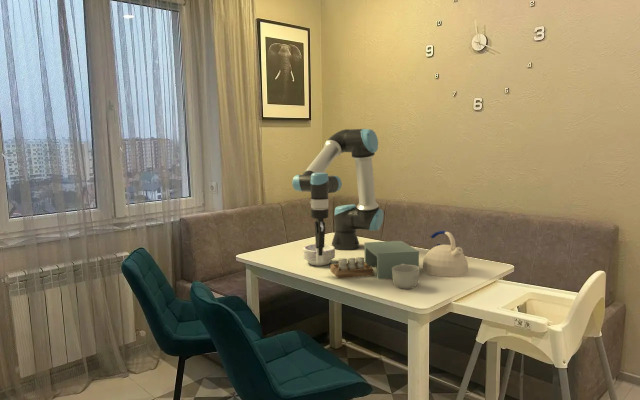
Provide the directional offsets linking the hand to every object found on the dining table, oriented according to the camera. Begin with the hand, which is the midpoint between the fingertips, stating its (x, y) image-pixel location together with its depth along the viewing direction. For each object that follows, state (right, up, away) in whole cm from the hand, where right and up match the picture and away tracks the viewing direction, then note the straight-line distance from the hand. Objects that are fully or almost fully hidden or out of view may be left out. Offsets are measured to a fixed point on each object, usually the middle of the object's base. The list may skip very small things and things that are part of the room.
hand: (319, 262), depth 209 cm
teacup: (+35, -8, -15) cm, 39 cm away
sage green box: (+32, -5, +7) cm, 33 cm away
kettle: (+56, -5, +6) cm, 57 cm away
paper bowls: (0, -3, +21) cm, 21 cm away
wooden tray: (+14, -6, +4) cm, 16 cm away
